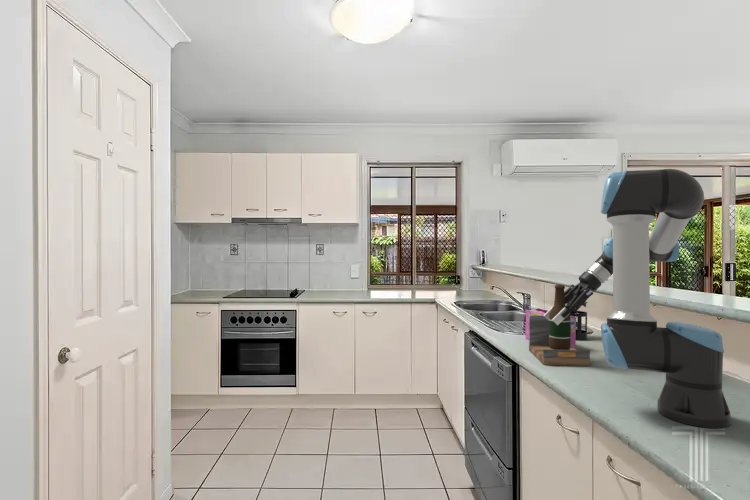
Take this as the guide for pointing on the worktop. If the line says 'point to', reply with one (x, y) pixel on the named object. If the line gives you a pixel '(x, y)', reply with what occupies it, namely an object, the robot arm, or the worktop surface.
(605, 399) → the worktop surface
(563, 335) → the beer bottle
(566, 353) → the shelf
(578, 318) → the french press
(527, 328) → the gum box
